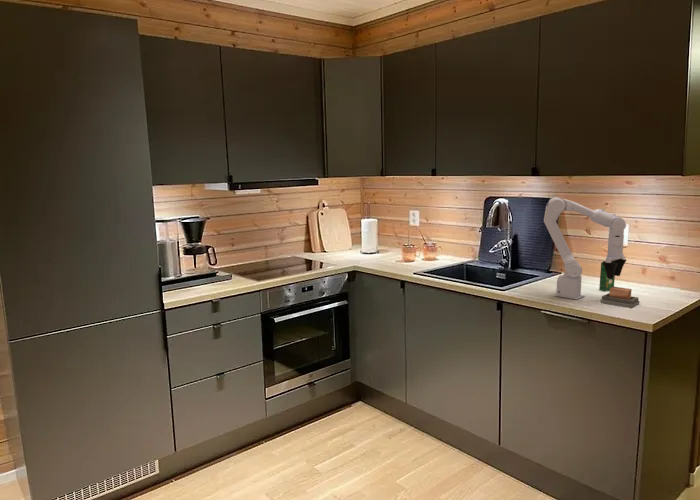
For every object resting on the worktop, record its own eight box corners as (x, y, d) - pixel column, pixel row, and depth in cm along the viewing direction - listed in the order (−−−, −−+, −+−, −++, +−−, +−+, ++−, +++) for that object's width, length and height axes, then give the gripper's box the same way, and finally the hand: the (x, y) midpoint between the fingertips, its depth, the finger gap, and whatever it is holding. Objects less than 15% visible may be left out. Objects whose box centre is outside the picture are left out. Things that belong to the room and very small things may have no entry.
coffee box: (608, 287, 245) (610, 260, 243) (614, 289, 242) (616, 260, 240) (598, 290, 240) (600, 262, 238) (604, 291, 238) (606, 263, 236)
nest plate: (600, 302, 219) (600, 296, 219) (608, 298, 225) (609, 292, 225) (631, 308, 211) (631, 301, 210) (639, 303, 217) (639, 297, 216)
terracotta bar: (627, 302, 214) (627, 290, 213) (609, 299, 219) (609, 288, 218) (630, 301, 217) (631, 289, 216) (612, 298, 222) (613, 286, 221)
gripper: (619, 248, 214) (616, 281, 216) (632, 244, 224) (629, 275, 226) (601, 246, 219) (599, 278, 221) (614, 242, 229) (612, 273, 231)
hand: (613, 277), depth 224 cm, fingers open, 7 cm apart
